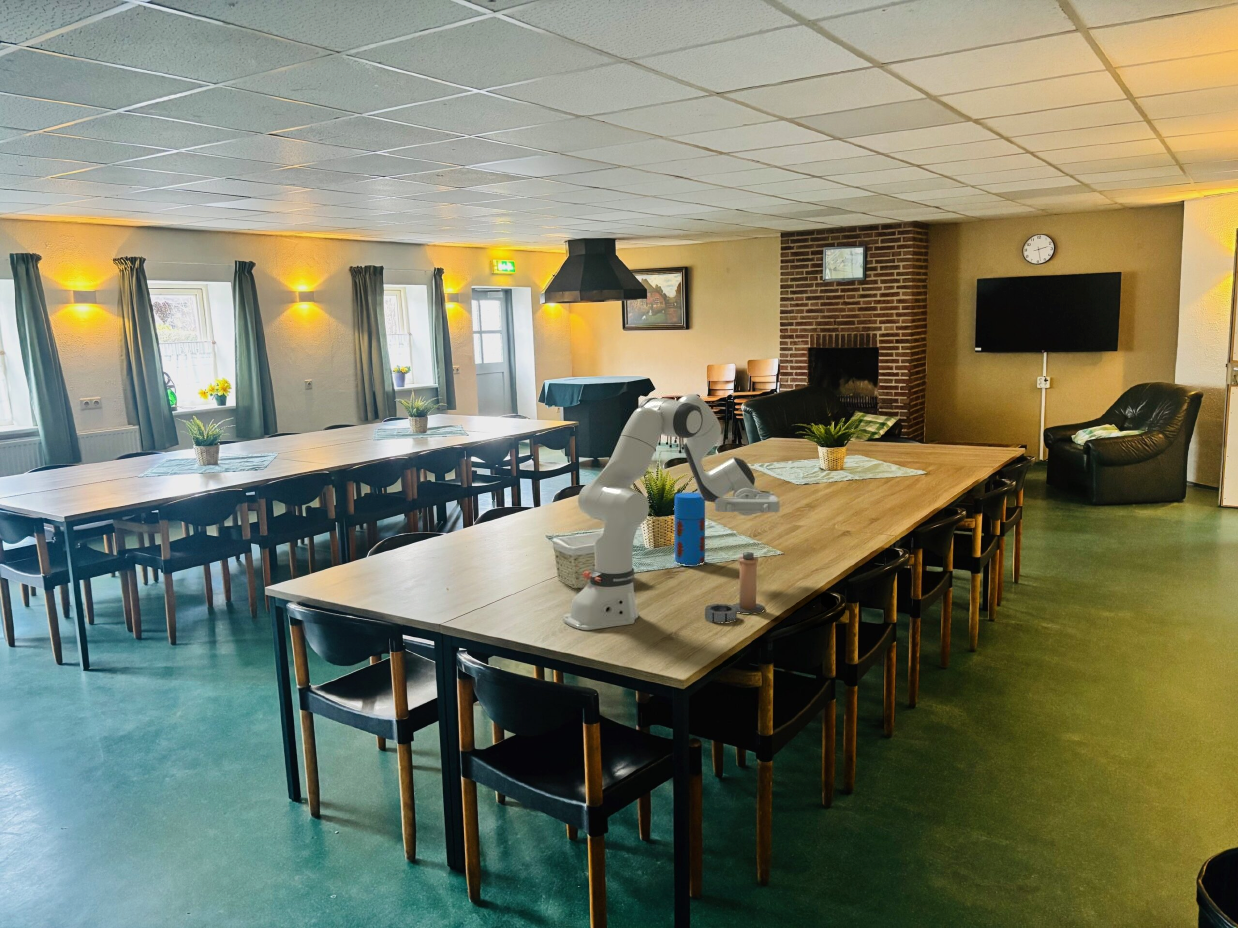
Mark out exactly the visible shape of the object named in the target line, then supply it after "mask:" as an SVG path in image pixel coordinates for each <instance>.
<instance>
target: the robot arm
mask: <svg viewBox="0 0 1238 928" xmlns="http://www.w3.org/2000/svg"><path fill="white" fill-rule="evenodd" d="M661 435H663V436H665V437H671V438H672V437H673V438H680V439H686V440H685V441H686V442H685V443H684V445H683V450H684V453H685V457H686V460H687V462H688V465H689V467H690V470H691V473H692V475H693V478H694V479H695V482H696V483H695V484H696V488H697V489H696V490H697V493H699V494H700V496H701V497H702V498H703V499H704V500H705V502H710V503H713V504H714V510H715V512H718V513H738V514H740V515H741V516H746V517H747V516H748V517H749V516H752V515H758V514H765V513H776V514H777V513H780V506H781V504H780V503H781V502H780V500H779V498H778V496H776V495H775V494H774V492H773V491H769V490H768V491H767V490H760V489H758V488H757V487H756V485H755V482H756V478H755V476H754V473H753V471H752V469H751V468H750V466H749V464H747V462H746V461H745V460H744V459H742V458H739V457H732V458H730V459H729V460H726V461H725V462H723V463H721V464H719V465H718V466H716V467H713V469H712V468H711V470H709V471H705V470H704V465H703V464H702V462H703V460H704V457H706V455H707V454H708V453H709V452H710V451H711V450H712V449H713V448H714V447H715V446H716V445H717V444H718V441H719V440H720V437H721V435H722V427H721V424H720V421H719V419H718V417H717V415H716V414H715V412H714V410H712V408H711V407H710V406H709V405H708V403H706V402H705V401H704V399H702V397H700V396H699V395H697V394H694V393H689V394H685V395H683V396H681V397H680V398H679V399H678V400H675V399H672V398H658V397H649V398H645V399H644V400H643V401H642V402H640V404H638V407H637V408H636V409H635V410H634V411H633V413H632V414H631V416H630V417H629V419H628V420H627V422H626V424H625V426H624V427H623V429H622V431H621V433H620V436H619V439H618V441H617V443H616V446H615V448H614V451H613V453H612V454H611V457H610V458H609V461H608V462H607V464H606V465H605V467H604V468H603V469H602V470H601V472H599V474H598V475H597V476H596V477H595V478H594V479H593V480H592V481H591V482H590V483H589V482H588V483H587V484H586V485H584V486H583V487H582V488H581V489H580V491H579V494H578V497H577V501H578V502H577V503H578V507H579V509H580V510H581V511H582V513H584V514H585V515H587V516H588V517H589V518H592V519H594V520H597V521H602V522H604V528H603V531H604V532H603V531H602V532H603V535H602V537H600V538H599V539H598V540H597V541H596V543H595V569H594V570H593V573H592V574H591V573H590V572H588V571H585V572H584V573H583V577H584V578H587V579H590V578H591V579H590V583H589V584H588V585H587V586H586V587H584V588H582V589H581V590H580V591H579V592H578V593H577V594H576V595H575V596H574V597H573V598H572V601H571V604H570V610H569V611H570V612H569V613H565V614H563V615H562V621H563V623H565V624H566V625H567V626H570V627H572V628H575V629H578V630H583V631H590V630H591V631H593V630H599V629H606V628H612V627H620V626H626V625H634V624H635V620H637V618H638V617H639V615H640V614H639V611H638V609H637V608H638V607H637V603H636V597H635V590H634V585H635V570H634V568H633V552H634V547H633V546H634V540H635V537H636V533H637V531H638V529H639V527H640V525H642V524H643V523H644V522H645V521H646V519H648V515H649V511H650V503H649V501H648V499H647V497H646V496H645V494H643V493H642V492H639V491H637V490H636V489H633V488H631V486H632V485H633V484H634V483H635V482H636V481H637V480H640V479H642V477H644V476H645V475H646V473H647V471H648V470H649V467H650V464H651V461H652V459H653V456H654V453H655V452H656V449H657V446H658V443H659V440H660V437H661ZM732 492H733V493H732ZM730 493H732V496H731V497H729V496H726V495H728V494H730Z"/></svg>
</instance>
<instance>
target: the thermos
mask: <svg viewBox="0 0 1238 928" xmlns="http://www.w3.org/2000/svg"><path fill="white" fill-rule="evenodd" d="M705 558H706V501H705V500H704V499H703V498H702V497H701V496H700V494H699V492H680V493H676V494H674V562H675V561H676V562H677V563H680V564H685V565H697V564H700V563H703V562H704V561H705V560H706V559H705ZM705 562H706V561H705ZM705 562H704V563H705Z"/></svg>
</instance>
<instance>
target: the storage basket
mask: <svg viewBox="0 0 1238 928" xmlns="http://www.w3.org/2000/svg"><path fill="white" fill-rule="evenodd" d="M603 532H604V530H602V531H596V532H589V533H582V534H576V535H575V534H574V535H567V536H566V535H565V536H560V537H553V538H552V540H551V541H552V549H553V552H554V559H555V560H554V561H555V567H556V573H557V574H556V575H557V579H558V581H560V582H562V583H563V584H565V585H567V586H569V587H571V588H573V589H584V588H585V587H586V586H587V585H588V584H589V583H590V579H591V578H590V579H587V578H584V577H583V573H584V572H585V571H588V572H590V573H591V574H592V573H593V570H594V569H595V543H596V541H597V540H598V539H599V538H600V537H602V535H603Z"/></svg>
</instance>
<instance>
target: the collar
mask: <svg viewBox="0 0 1238 928" xmlns="http://www.w3.org/2000/svg"><path fill="white" fill-rule="evenodd" d="M732 605H733V604H727V603H713V604H709V605H706V606H705V609H704V619H706V620H705V621H707V620H709V621H711V622H710V623H712V622H720V623H721V622H723V623H725V622H730V621H734V620H736V619H738V613H737V607H735V606H732ZM709 621H708V622H709ZM736 621H737V620H736ZM720 623H719V624H720ZM725 624H726V623H725Z"/></svg>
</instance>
